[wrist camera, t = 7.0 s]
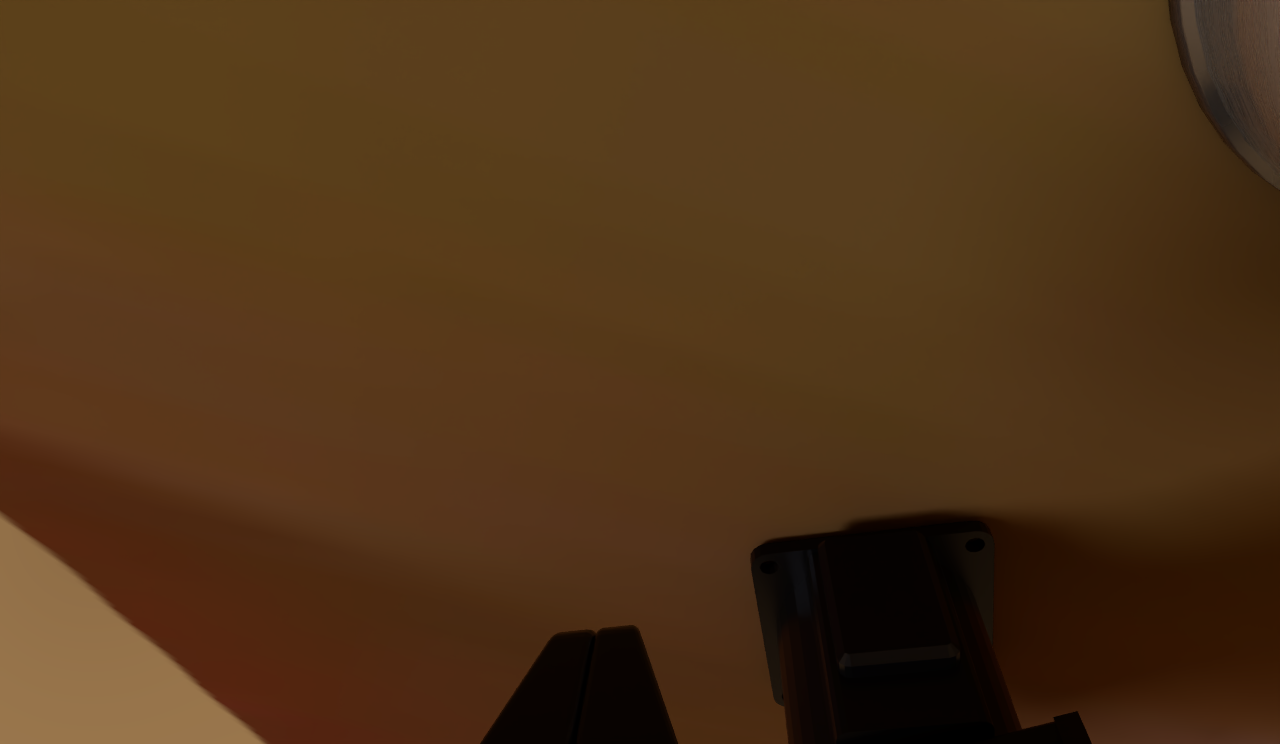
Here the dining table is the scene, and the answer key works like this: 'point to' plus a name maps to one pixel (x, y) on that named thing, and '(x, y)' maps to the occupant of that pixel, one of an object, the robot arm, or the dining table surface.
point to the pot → (1235, 73)
